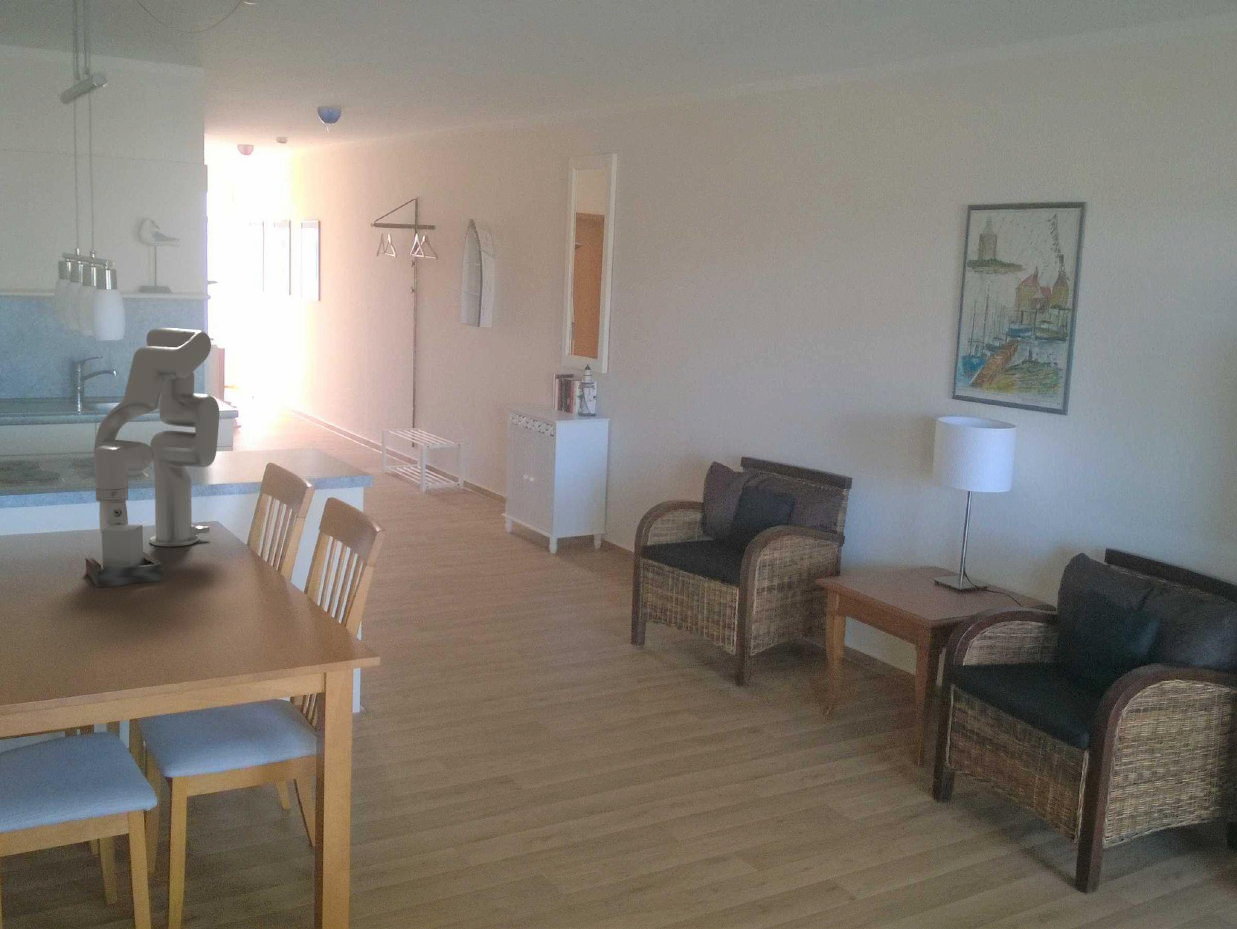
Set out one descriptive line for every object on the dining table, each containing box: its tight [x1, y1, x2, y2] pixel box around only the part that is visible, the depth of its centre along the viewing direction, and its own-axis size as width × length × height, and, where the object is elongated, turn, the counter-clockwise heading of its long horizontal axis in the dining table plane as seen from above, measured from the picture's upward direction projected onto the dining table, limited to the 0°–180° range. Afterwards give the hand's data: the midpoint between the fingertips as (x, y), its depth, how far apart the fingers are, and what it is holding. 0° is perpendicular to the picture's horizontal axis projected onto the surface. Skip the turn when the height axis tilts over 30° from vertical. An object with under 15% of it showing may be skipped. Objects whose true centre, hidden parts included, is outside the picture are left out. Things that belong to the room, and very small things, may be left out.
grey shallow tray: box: [85, 551, 164, 588], centre depth 281 cm, size 15×14×4 cm
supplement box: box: [101, 523, 144, 570], centre depth 281 cm, size 7×7×13 cm
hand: (113, 563), depth 289 cm, fingers closed
